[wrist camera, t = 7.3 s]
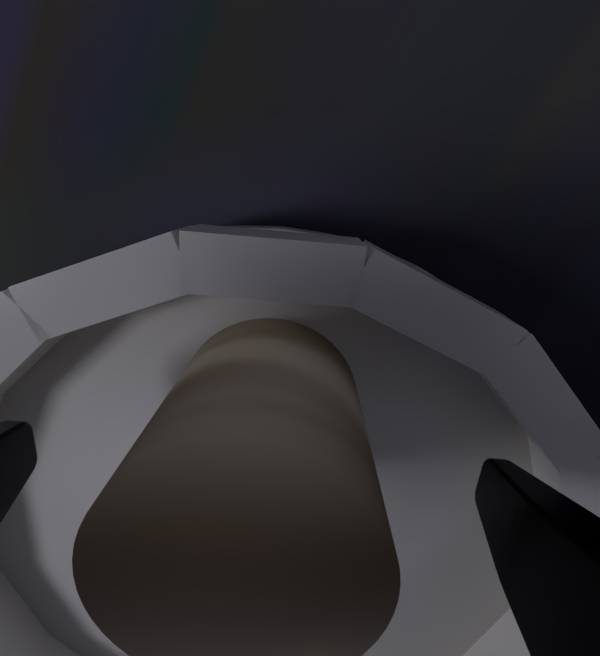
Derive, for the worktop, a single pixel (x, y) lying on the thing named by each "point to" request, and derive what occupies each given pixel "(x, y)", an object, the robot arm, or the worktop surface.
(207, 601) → the bead maple
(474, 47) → the worktop surface
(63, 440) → the tray
